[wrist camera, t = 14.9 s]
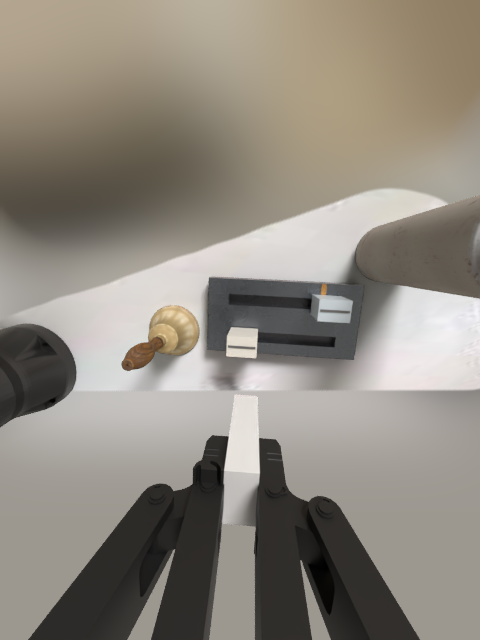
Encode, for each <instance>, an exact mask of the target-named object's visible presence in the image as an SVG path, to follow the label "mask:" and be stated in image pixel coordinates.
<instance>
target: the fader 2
mask: <svg viewBox="0 0 480 640" xmlns="http://www.w3.org/2000/svg"><path fill="white" fill-rule="evenodd" d="M352 304H353V301H352V300H349V299H347V298H345V297H342V296H332V295H314V294H312V303H311V312H310V314H311V315H312V316H313V317H314V318H315V319H316V320H317V321H321V322H338V323H350V319H351V311H352Z"/></svg>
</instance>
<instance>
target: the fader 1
mask: <svg viewBox="0 0 480 640" xmlns="http://www.w3.org/2000/svg"><path fill="white" fill-rule="evenodd" d="M257 339H258V329H255V328H239V327H231V329H230V331H229V333H228V335H227V349H226V356H230V357H244V358H256V355H257Z"/></svg>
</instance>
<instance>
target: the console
mask: <svg viewBox="0 0 480 640" xmlns="http://www.w3.org/2000/svg"><path fill="white" fill-rule="evenodd" d="M363 292H364V285H360V284H346V283H326V282H307V281H287V280H267V279H248V278H228V277H209V300H208V349H207V350H220V351H226V349H227V335H228V333H229V331H230V329H231V327H239V328H255V329H258V339H257V353H263V354H277V355H292V356H306V357H320V358H334V359H349V360H354V354H355V348H356V341H357V334H358V327H359V320H360V313H361V306H362V299H363ZM312 294H314V295H332V296H342V297H345V298H347V299H349V300H352V301H353V304H352V311H351V319H350V323H338V322H321V321H317V320H316V319H315V318H314V317H313V316H312V315H311V314H310V312H311V303H312Z"/></svg>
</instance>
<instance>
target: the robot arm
mask: <svg viewBox="0 0 480 640" xmlns="http://www.w3.org/2000/svg"><path fill="white" fill-rule="evenodd" d="M75 379H76V366H75V361H74V358H73V356H72V353H71V352H70V350H69V348H68V347H67V345H66V344H65V343H64V341H63V340H62V339H61V338H60V337H59V336H57V335H56V334H55V333H53V332H52V331H50V330H48V329H46V328H44V327H42V326H39V325H34V324H20V325H16V326H12V327H8V328H5V329H2V330H0V427H1V426H3V425H4V424H6V423H7V422H9V421H10V420H12V419H14V418H16V417H20V416H23V415H27V414H31V413H34V412H38V411H41V410H45V409H47V408H49V407H52V406H54V405H55V404H56V403H58V402H60V401H61V400H62V399H64V398H65V397H66V396H67V395H68V394H69V393H70V391H71V390H72V388H73V386H74V383H75ZM258 428H259V427H258V397H257V396H247V395H235V398H234V405H233V411H232V419H231V426H230V433H229V437H227V436H214V435H212V436H211V437H210V438H209V439H208V440H207V443H206V446H205V450H204V455H203V458H202V460H201V461H199V462H198V463H196V464H195V466H194V468H193V484H192V485H191V486H189V487H187V488H185V489H182V490H177V491H173V490H172V488H171V487H170V486H168V485H166V484H156V485H153V486H150V487H149V488H147V489H146V490H145V491H144V492H143V493H142V494H141V496H140V497H139V498H138V500H137V501H136V502H135V504H134V505H133V506H132V507H131V509H130V510H129V511H128V512H127V514H126V515H125V517H124V518H123V519H122V520H121V521H120V523H119V524H118V525H117V527H116V528H115V529H114V530H113V532H112V533H111V534H110V536H109V537H108V538H107V539H106V541H105V542H104V543H103V545H102V546H101V547H100V548H99V550H98V551H97V552H96V554H95V555H94V556H93V557H92V559H91V560H90V561H89V563H88V564H87V565H86V566H85V568H84V569H83V570H82V571H81V573H80V574H79V575H78V577H77V578H76V579H75V581H74V582H73V583H72V584H71V586H70V587H69V588H68V590H67V591H66V592H65V593H64V595H63V596H62V597H61V599H60V600H59V601H58V602H57V604H56V605H55V606H54V607H53V609H52V610H51V611H50V612H49V614H48V615H47V616H46V618H45V619H44V620H43V621H42V623H41V624H40V625H39V627H38V628H37V629H36V630H35V632H34V633H33V634H32V636H31V637H30V638H29V639H28V640H127V639H128V637H129V635H130V633H131V631H132V629H133V627H134V625H135V623H136V621H137V620H138V617H139V616H140V614H141V611H142V610H143V608H144V606H145V604H146V602H147V600H148V598H149V596H150V594H151V592H152V590H153V589H154V587H155V584H156V583H157V581H158V579H159V577H160V575H161V573H162V571H163V569H164V567H165V565H166V563H167V561H168V559H169V558H170V556H171V554H172V551H173V549H175V553H174V557H173V561H172V564H171V568H170V571H169V576H168V579H167V583H166V586H165V590H164V594H163V597H162V601H161V605H160V609H159V612H158V616H157V620H156V623H155V627H154V631H153V634H152V638H151V640H209V635H210V627H211V618H212V609H213V601H214V592H215V584H216V574H217V567H218V557H219V549H220V541H221V526H222V523H224V524H235V525H247V526H256V532H255V545H254V546H255V547H254V554H255V640H312V636H311V630H310V623H309V617H308V610H307V603H306V597H305V590H304V585H303V577H302V570H301V564H300V560H302V562H303V566H304V569H305V571H306V574H307V577H308V579H309V582H310V585H311V587H312V590H313V593H314V595H315V598H316V601H317V603H318V606H319V609H320V612H321V614H322V617H323V620H324V622H325V625H326V627H327V630H328V633H329V635H330V638H331V640H420V639H419V637H418V636H417V634H416V632H415V631H414V629H413V628H412V626H411V624H410V623H409V621H408V620H407V618H406V616H405V614H404V613H403V611H402V609H401V608H400V606H399V604H398V603H397V601H396V599H395V598H394V596H393V595H392V593H391V591H390V590H389V588H388V586H387V585H386V583H385V581H384V580H383V578H382V576H381V575H380V573H379V572H378V570H377V568H376V567H375V565H374V563H373V562H372V560H371V558H370V557H369V555H368V553H367V552H366V550H365V548H364V547H363V545H362V543H361V542H360V540H359V539H358V537H357V535H356V534H355V532H354V530H353V529H352V527H351V525H350V524H349V522H348V520H347V519H346V517H345V515H344V514H343V512H342V511H341V509H340V507H339V506H338V505H337V504H336V503H335V502H334V501H332V500H331V499H329V498H326V497H323V496H317V497H314V498H312V499H311V500H310V501H309V502H307V501H304V500H302V499H300V498H298V497H296V496H294V495H293V494H292V493H291V492H290V491H289V489H288V488H287V486H286V482H285V474H284V467H283V461H282V455H281V447H280V445H279V443H278V442H277V441H276V440H274V439H262V438H259V431H258Z"/></svg>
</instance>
